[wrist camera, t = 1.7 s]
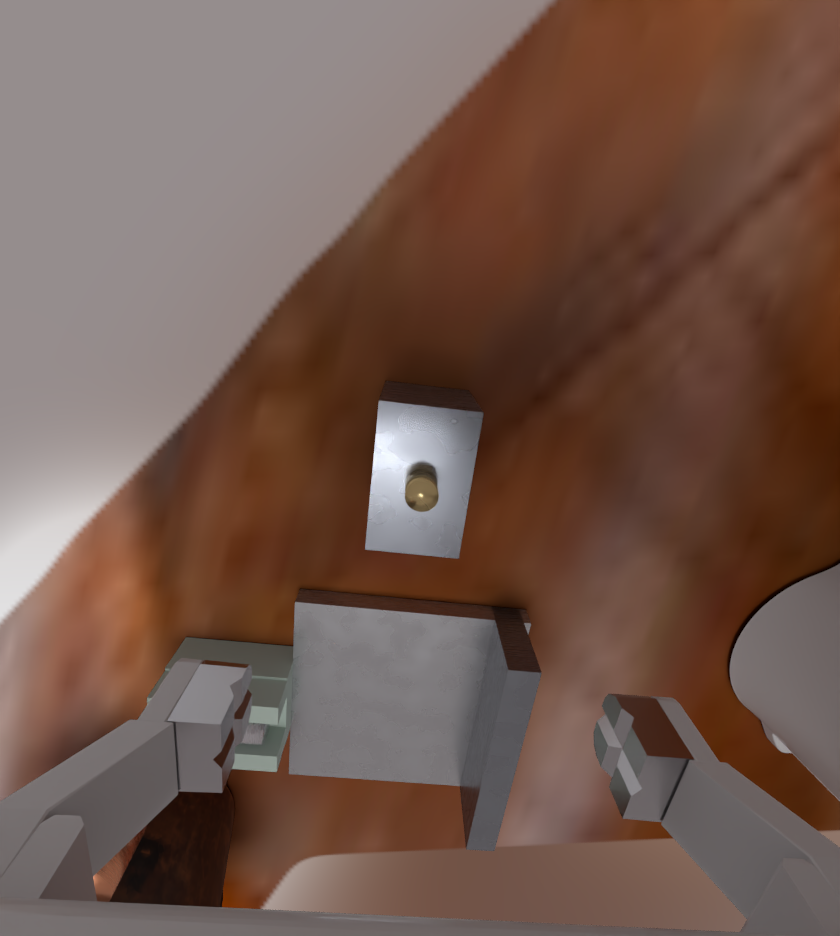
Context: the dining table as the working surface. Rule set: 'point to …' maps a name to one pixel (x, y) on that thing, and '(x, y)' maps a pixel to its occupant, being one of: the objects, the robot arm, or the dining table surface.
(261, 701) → the ram guide
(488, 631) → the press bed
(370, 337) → the dining table surface
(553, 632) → the dining table surface
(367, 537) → the block
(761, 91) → the dining table surface
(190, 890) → the case
